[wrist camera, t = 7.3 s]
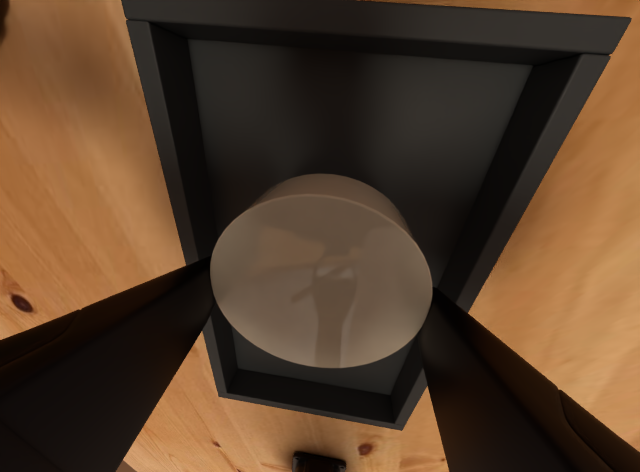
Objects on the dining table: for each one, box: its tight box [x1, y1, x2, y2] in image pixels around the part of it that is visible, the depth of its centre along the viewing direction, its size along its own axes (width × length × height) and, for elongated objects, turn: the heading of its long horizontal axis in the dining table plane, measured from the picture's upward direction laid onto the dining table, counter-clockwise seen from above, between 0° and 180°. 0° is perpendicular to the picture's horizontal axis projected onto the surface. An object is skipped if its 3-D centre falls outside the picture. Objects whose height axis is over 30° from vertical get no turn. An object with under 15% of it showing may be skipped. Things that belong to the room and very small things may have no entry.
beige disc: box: [210, 174, 433, 368], centre depth 8 cm, size 7×7×2 cm
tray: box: [121, 0, 632, 431], centre depth 13 cm, size 24×15×3 cm, turn 175°
